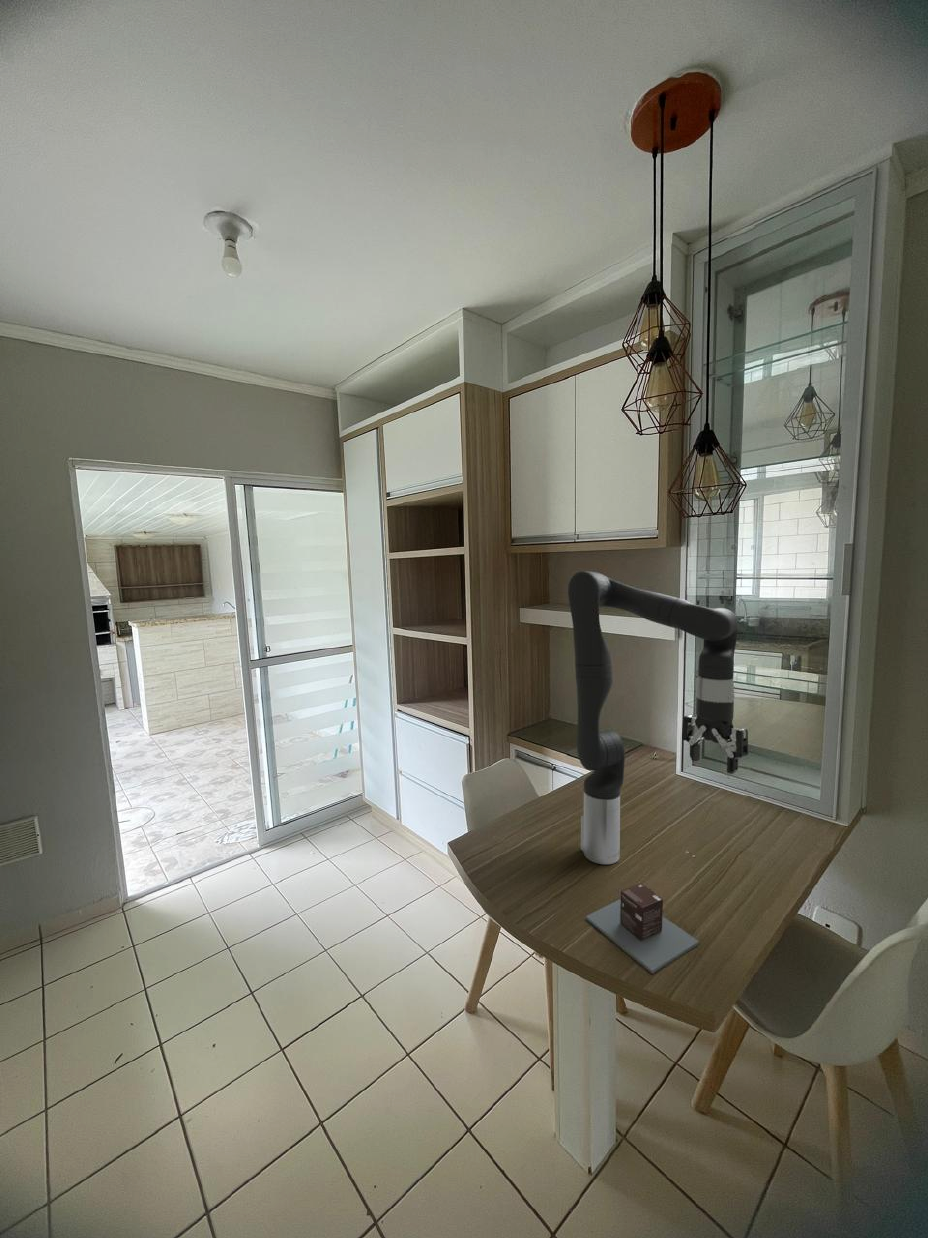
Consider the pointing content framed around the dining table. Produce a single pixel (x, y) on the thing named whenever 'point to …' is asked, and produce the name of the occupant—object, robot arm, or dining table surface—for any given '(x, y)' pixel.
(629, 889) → the box
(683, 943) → the mat
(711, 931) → the dining table surface
